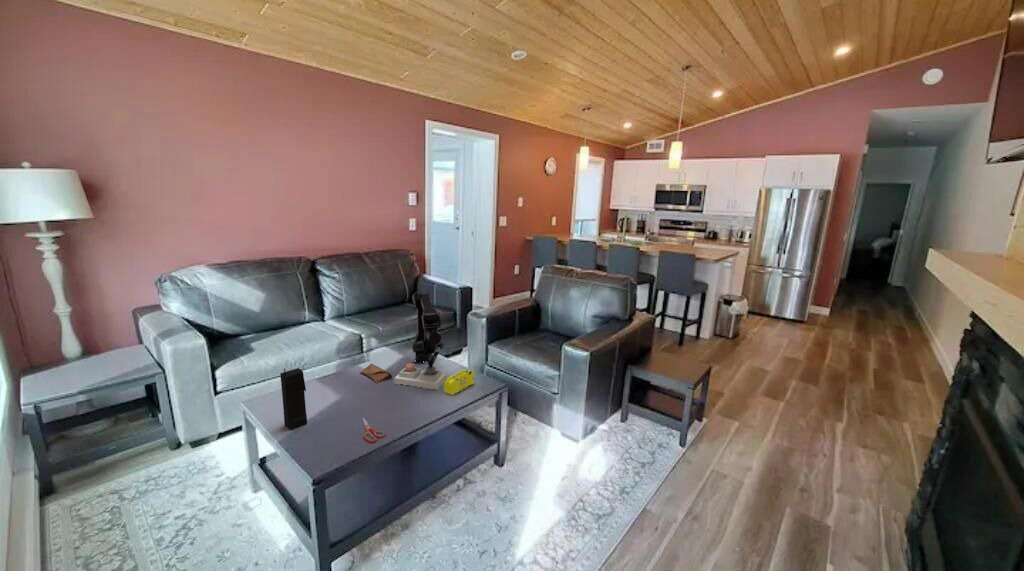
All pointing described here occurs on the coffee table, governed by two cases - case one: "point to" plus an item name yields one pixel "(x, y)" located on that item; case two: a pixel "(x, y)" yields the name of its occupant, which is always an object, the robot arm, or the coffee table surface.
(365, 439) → the scissors
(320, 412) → the coffee table surface
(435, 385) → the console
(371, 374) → the sunglasses case
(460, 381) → the yellow toy chassis
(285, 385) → the portable radio
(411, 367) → the pink rounded ball
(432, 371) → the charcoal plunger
